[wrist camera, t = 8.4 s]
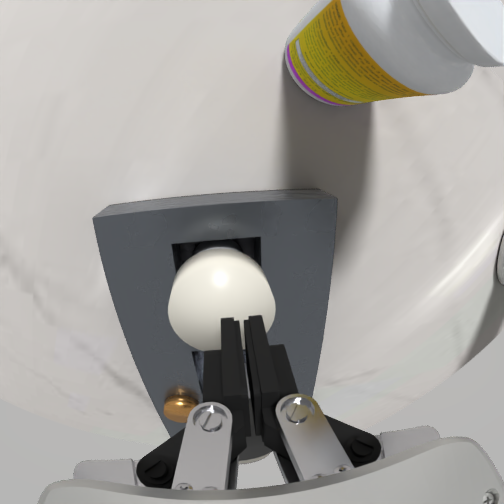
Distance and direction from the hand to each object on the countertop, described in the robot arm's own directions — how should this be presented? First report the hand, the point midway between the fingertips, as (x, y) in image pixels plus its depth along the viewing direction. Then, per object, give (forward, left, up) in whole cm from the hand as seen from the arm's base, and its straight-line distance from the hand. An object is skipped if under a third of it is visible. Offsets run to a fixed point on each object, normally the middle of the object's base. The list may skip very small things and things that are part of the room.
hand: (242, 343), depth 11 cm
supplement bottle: (-7, -14, -9) cm, 18 cm away
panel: (+1, +8, -9) cm, 12 cm away
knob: (+1, 0, -8) cm, 8 cm away
